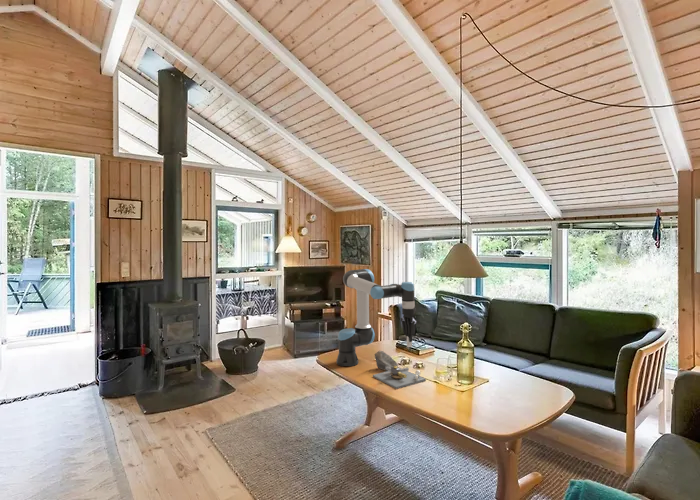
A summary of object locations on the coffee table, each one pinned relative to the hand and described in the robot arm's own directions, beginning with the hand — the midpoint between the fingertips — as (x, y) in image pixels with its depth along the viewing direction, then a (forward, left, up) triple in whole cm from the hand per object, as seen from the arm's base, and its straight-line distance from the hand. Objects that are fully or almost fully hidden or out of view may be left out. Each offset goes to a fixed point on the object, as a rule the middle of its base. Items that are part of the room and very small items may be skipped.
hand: (409, 346), depth 234 cm
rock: (-24, 0, -21) cm, 32 cm away
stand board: (-6, -4, -20) cm, 22 cm away
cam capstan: (-7, -6, -19) cm, 21 cm away
